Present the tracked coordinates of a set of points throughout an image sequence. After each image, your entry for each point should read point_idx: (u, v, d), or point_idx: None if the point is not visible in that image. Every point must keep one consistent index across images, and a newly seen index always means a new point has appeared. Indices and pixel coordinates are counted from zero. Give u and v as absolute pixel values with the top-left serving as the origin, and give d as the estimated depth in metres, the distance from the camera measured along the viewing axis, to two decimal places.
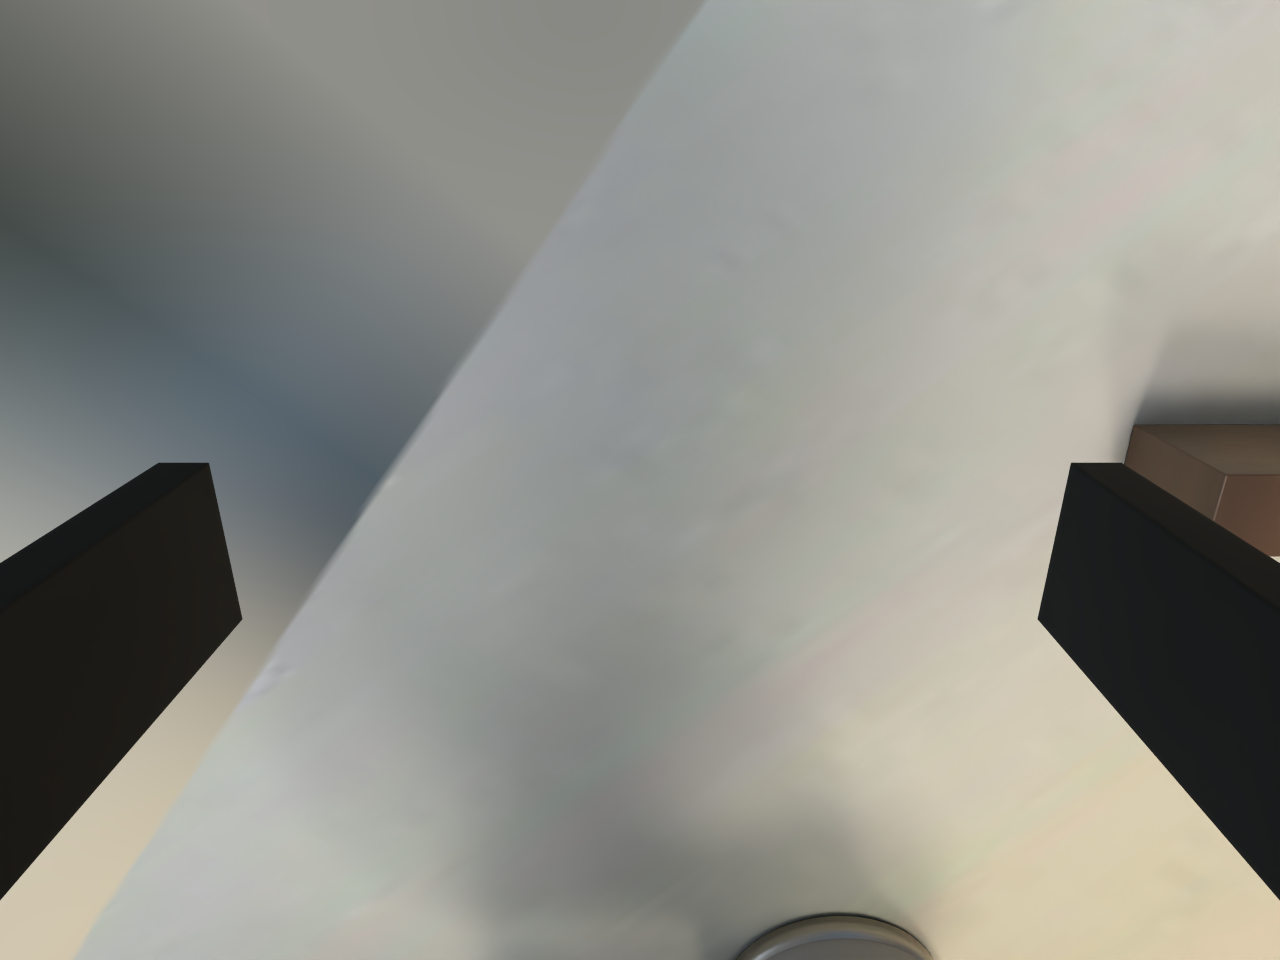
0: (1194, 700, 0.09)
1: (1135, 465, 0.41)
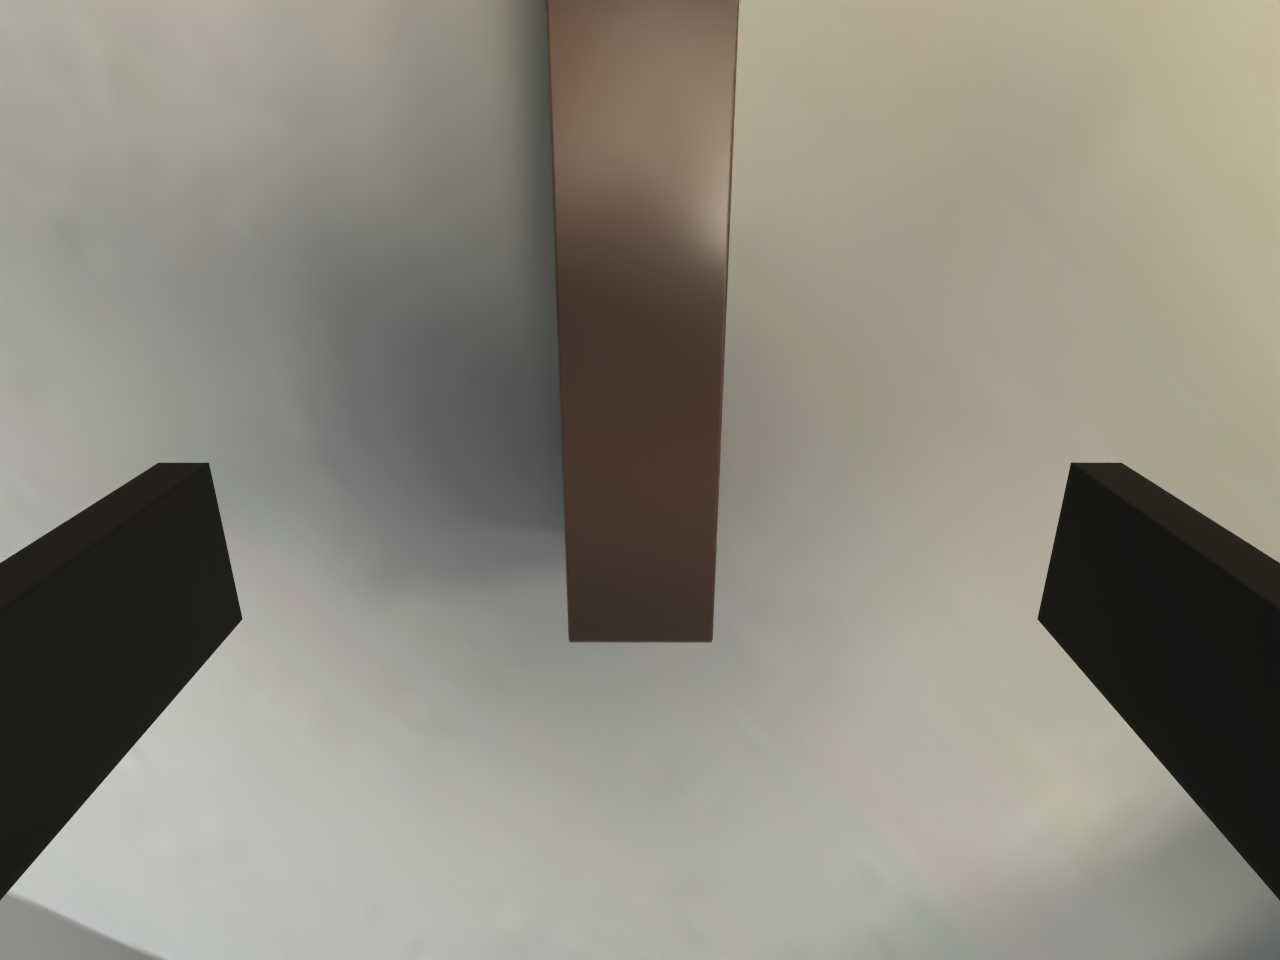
0: (1194, 700, 0.09)
1: None
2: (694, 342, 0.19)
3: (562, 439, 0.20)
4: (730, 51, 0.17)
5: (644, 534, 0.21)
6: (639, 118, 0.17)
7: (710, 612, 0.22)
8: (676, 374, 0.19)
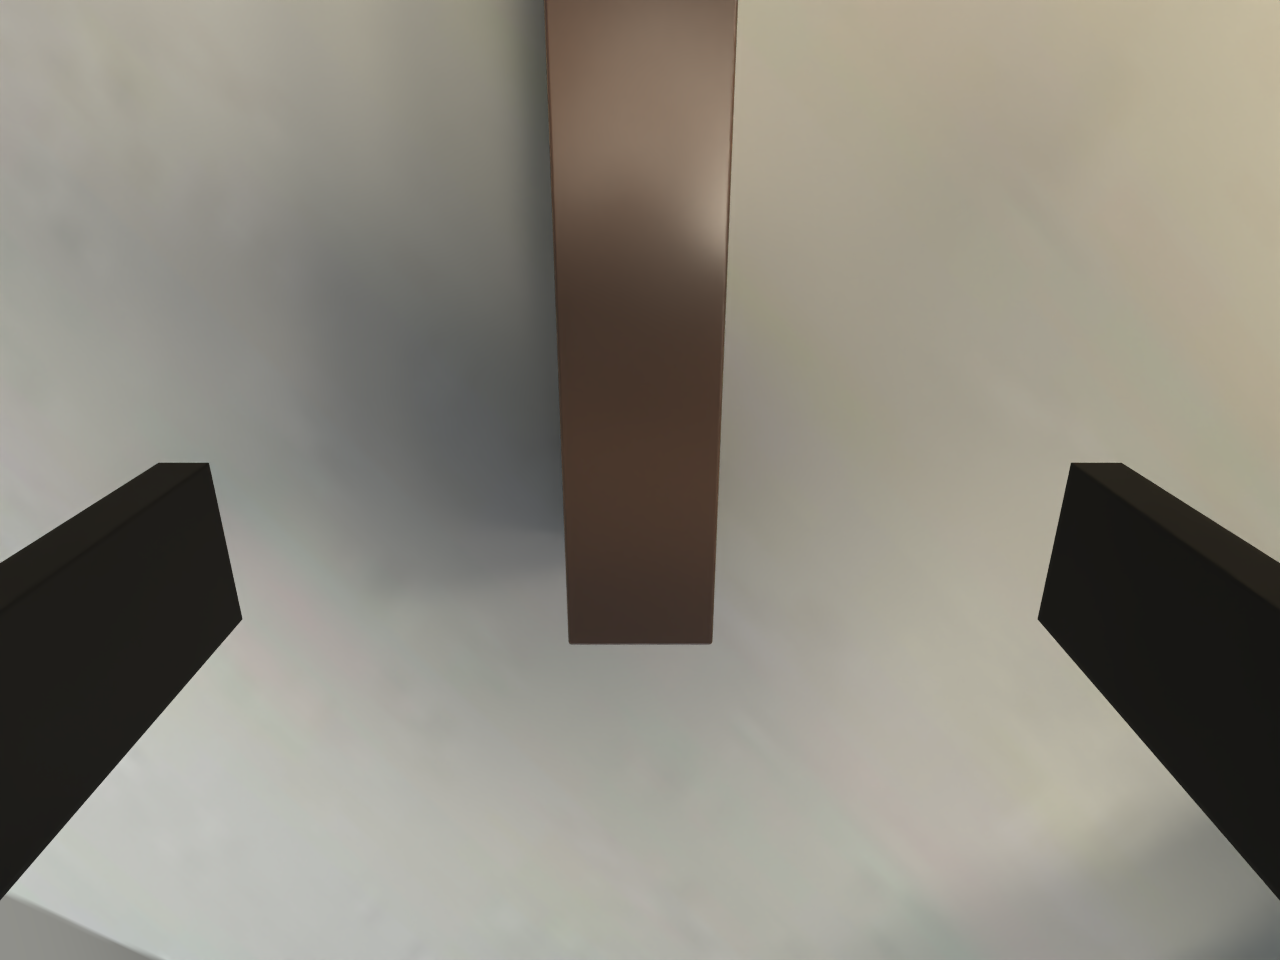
0: (1194, 700, 0.09)
1: None
2: (694, 345, 0.19)
3: (561, 442, 0.20)
4: (729, 54, 0.17)
5: (644, 536, 0.21)
6: (638, 121, 0.17)
7: (710, 614, 0.22)
8: (675, 377, 0.19)
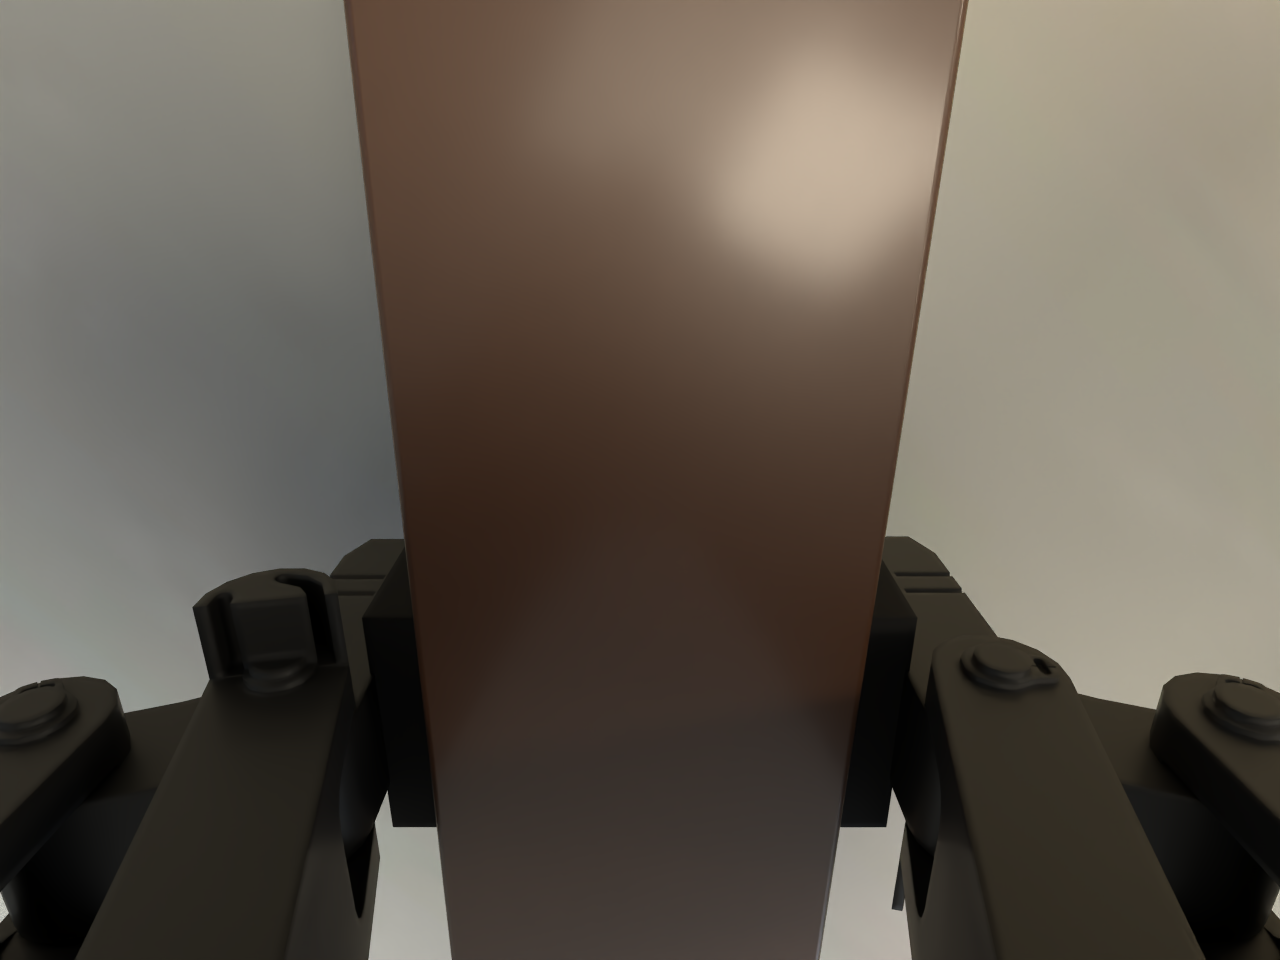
0: None
1: None
2: (785, 664, 0.07)
3: (441, 860, 0.08)
4: None
5: None
6: (649, 33, 0.05)
7: None
8: (733, 733, 0.07)
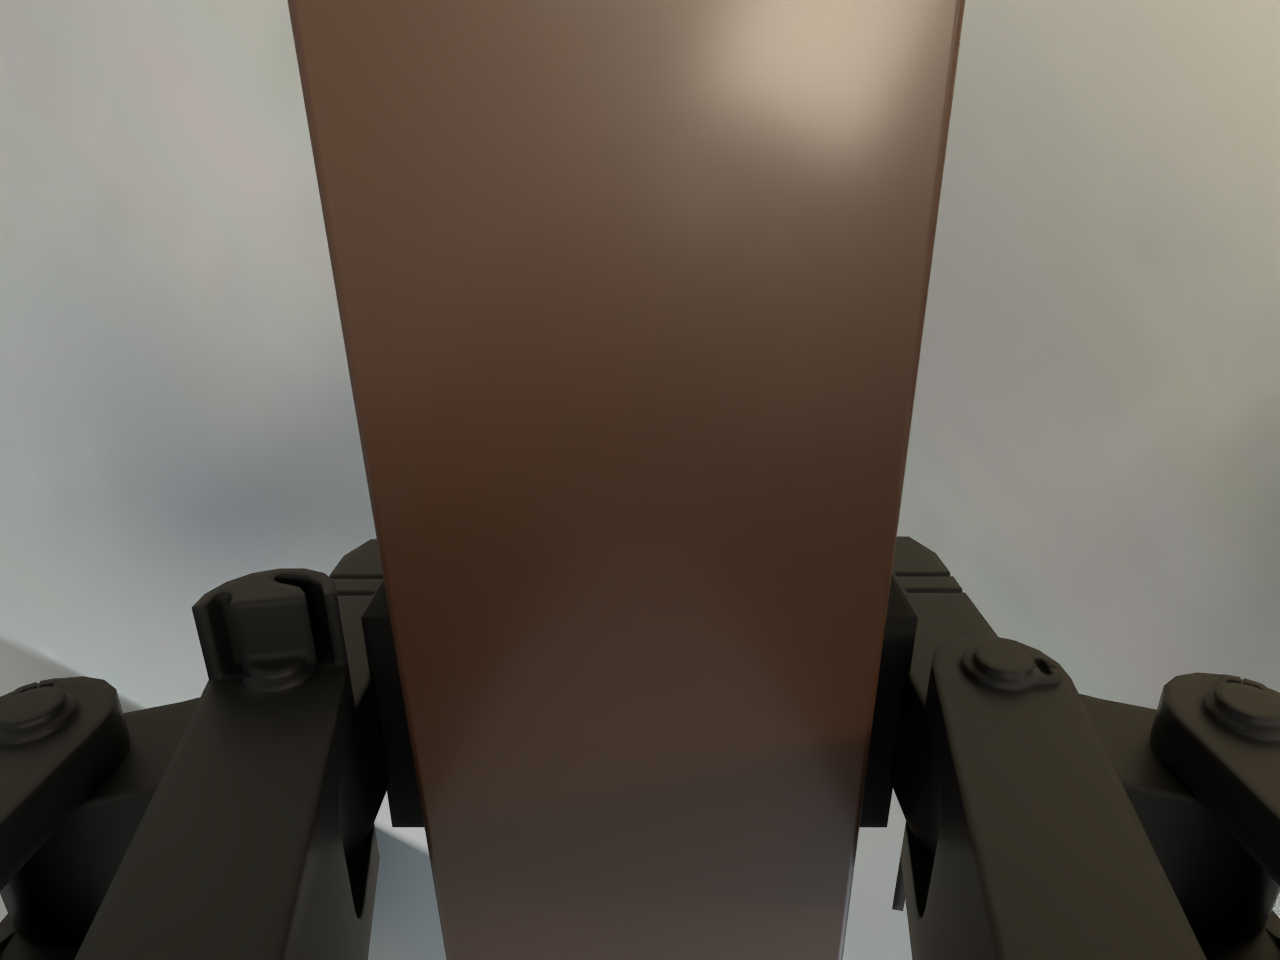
0: None
1: None
2: (793, 691, 0.07)
3: (438, 903, 0.08)
4: None
5: None
6: (619, 24, 0.05)
7: None
8: (738, 764, 0.07)
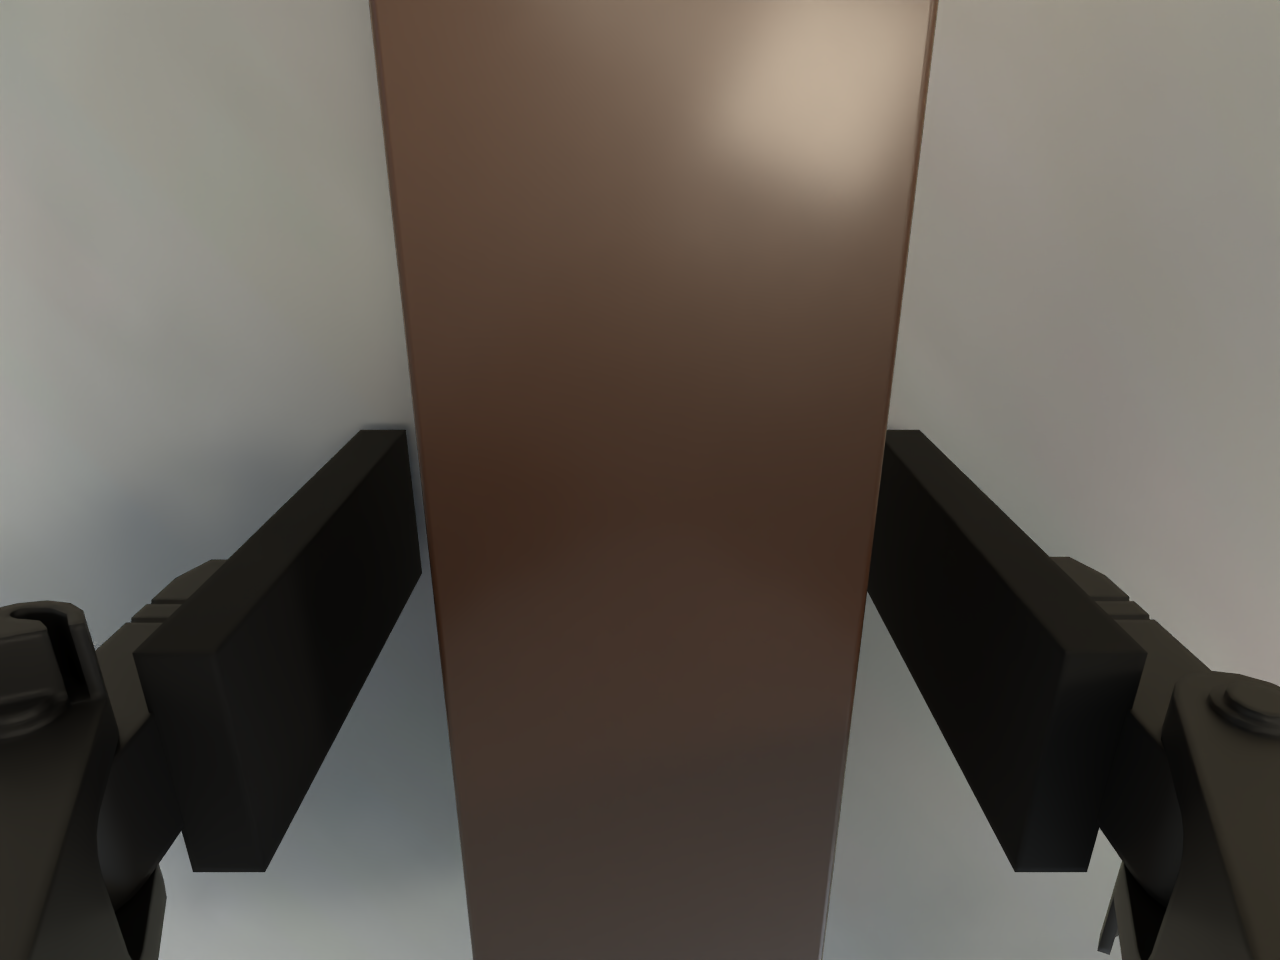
0: (932, 627, 0.11)
1: None
2: (786, 627, 0.07)
3: (460, 826, 0.08)
4: None
5: None
6: (647, 29, 0.06)
7: None
8: (737, 697, 0.08)
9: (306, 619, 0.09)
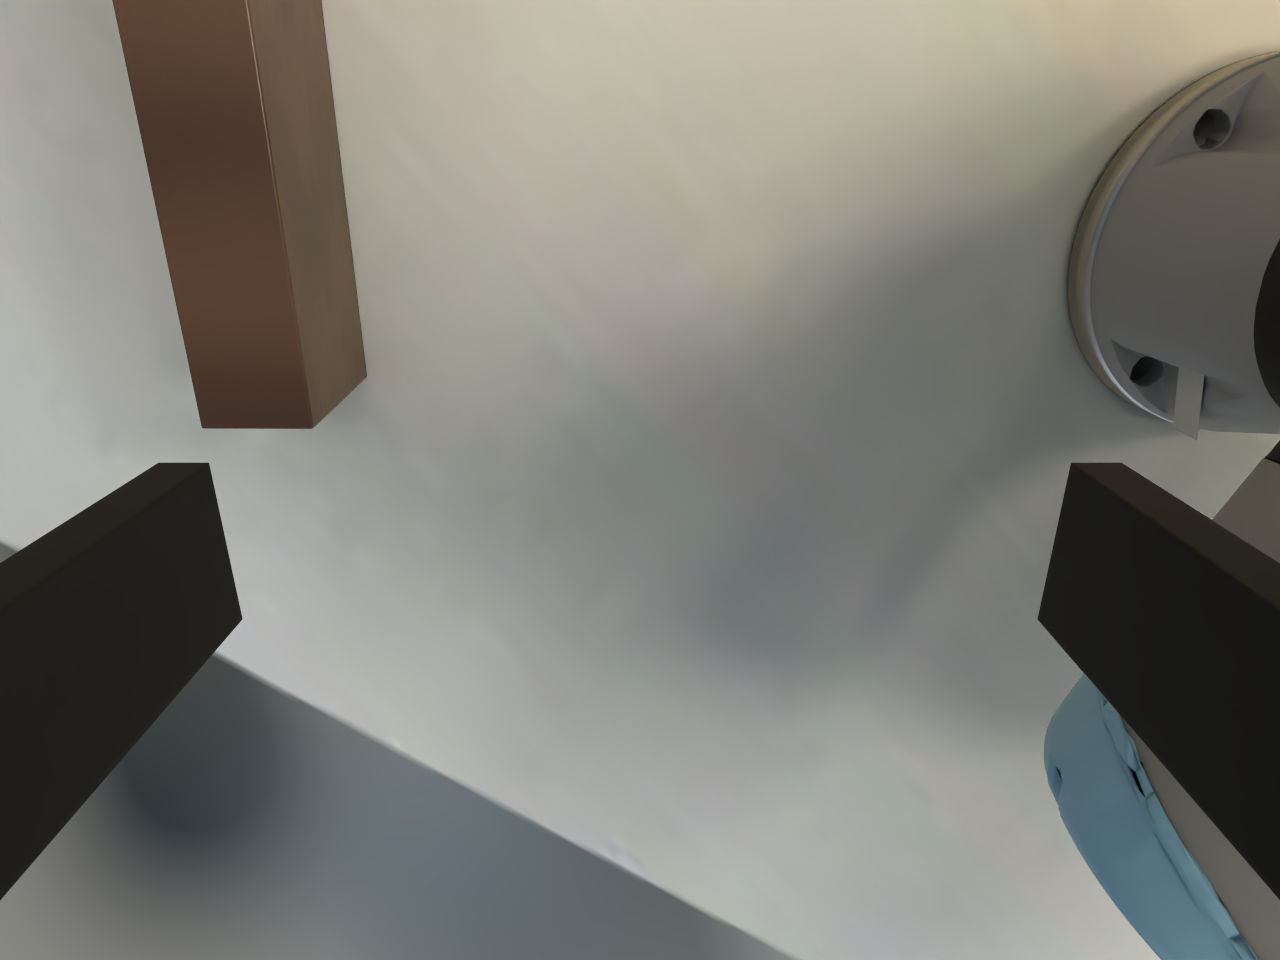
0: (1194, 700, 0.09)
1: None
2: (252, 182, 0.26)
3: (167, 259, 0.27)
4: None
5: (244, 337, 0.28)
6: (179, 8, 0.24)
7: (306, 403, 0.29)
8: (243, 207, 0.26)
9: None
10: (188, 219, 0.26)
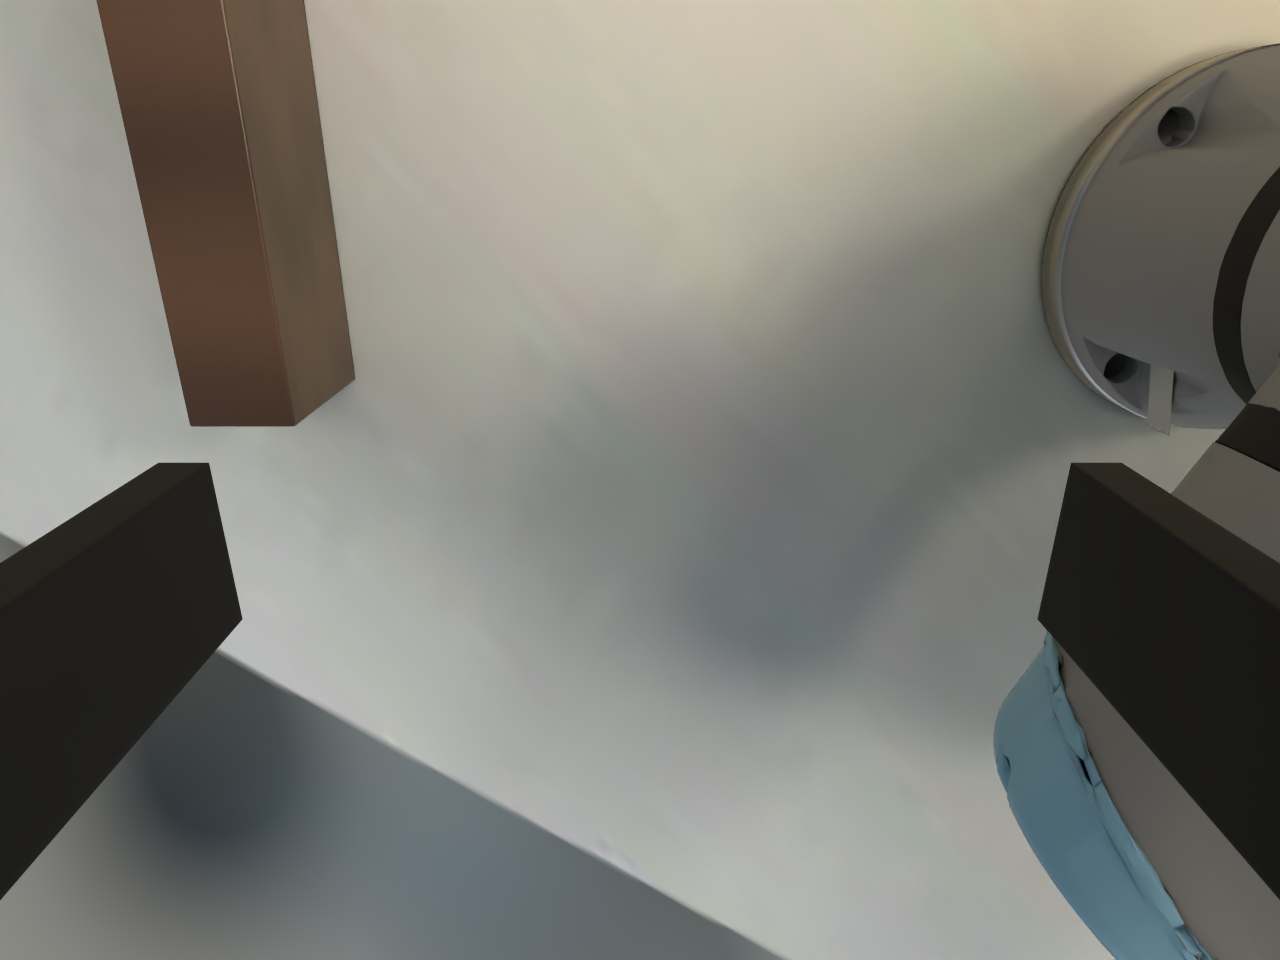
0: (1194, 700, 0.09)
1: None
2: (233, 191, 0.27)
3: (155, 265, 0.28)
4: None
5: (228, 339, 0.29)
6: (163, 27, 0.25)
7: (288, 401, 0.30)
8: (225, 215, 0.28)
9: None
10: (174, 226, 0.28)
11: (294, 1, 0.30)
